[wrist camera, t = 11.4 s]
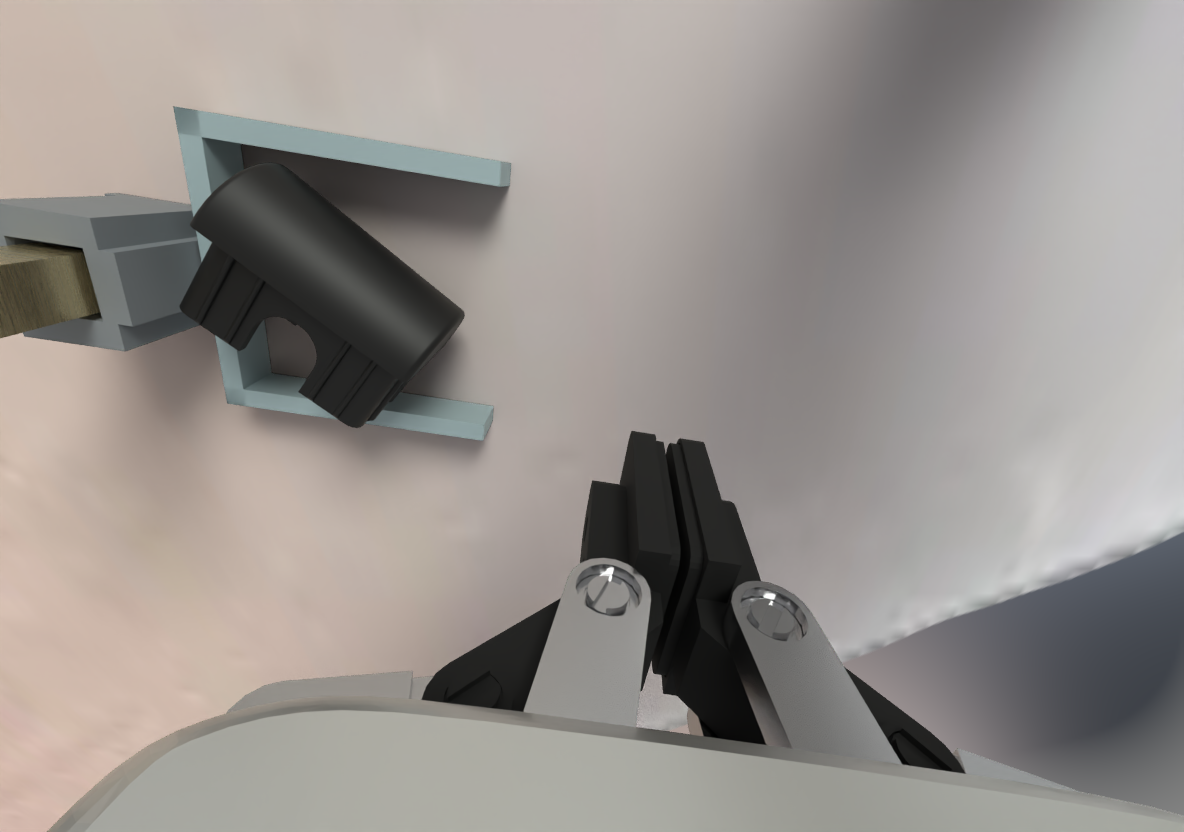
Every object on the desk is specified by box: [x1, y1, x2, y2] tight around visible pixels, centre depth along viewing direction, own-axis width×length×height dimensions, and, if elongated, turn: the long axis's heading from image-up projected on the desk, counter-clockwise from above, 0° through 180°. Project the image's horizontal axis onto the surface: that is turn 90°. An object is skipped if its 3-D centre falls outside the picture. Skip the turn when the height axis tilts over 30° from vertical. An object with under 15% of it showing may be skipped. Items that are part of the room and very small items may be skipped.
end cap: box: [179, 163, 464, 428], centre depth 24 cm, size 10×7×7 cm
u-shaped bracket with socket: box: [0, 106, 511, 441], centre depth 23 cm, size 14×20×7 cm
